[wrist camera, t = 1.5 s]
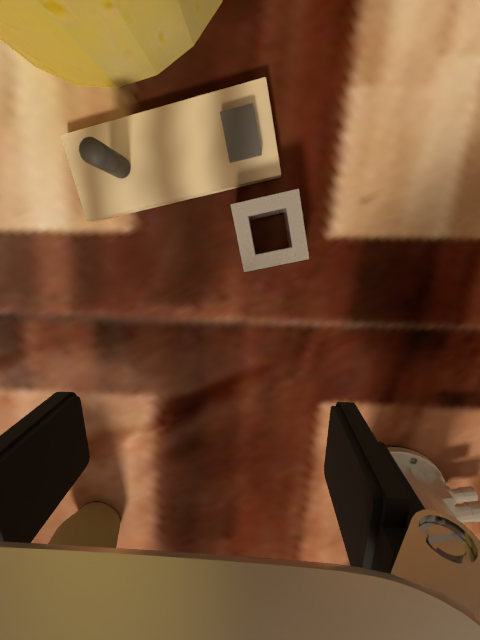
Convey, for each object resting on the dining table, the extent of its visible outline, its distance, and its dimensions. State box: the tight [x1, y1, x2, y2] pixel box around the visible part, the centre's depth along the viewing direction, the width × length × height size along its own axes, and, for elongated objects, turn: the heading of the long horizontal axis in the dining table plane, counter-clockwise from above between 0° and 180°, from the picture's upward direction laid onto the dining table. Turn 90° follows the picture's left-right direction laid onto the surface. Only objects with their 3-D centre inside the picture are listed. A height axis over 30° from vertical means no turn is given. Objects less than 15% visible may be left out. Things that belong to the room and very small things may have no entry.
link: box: [231, 189, 309, 272], centre depth 28 cm, size 6×6×4 cm
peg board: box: [60, 77, 281, 222], centre depth 26 cm, size 20×8×6 cm, turn 102°
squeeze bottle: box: [48, 502, 120, 548], centre depth 32 cm, size 8×8×18 cm
